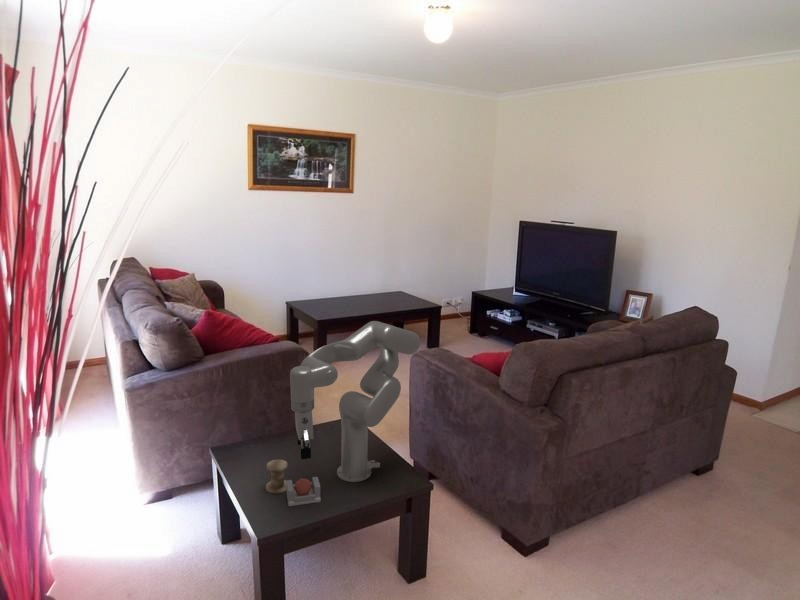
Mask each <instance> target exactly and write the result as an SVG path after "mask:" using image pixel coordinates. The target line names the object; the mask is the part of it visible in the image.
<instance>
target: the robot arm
mask: <svg viewBox="0 0 800 600" xmlns="http://www.w3.org/2000/svg"><path fill="white" fill-rule="evenodd" d="M420 346H421V339H420V336H419V335H418V334H417V333H416V332H413V331H411V330H408V329H404V328H401V327H397V326H395V325H393V324H388V323H385V322H381V321H378V320H371V321H369V322H367V323H366V324H364V325H363V326H362V327H360V328H359V329H357V330H356V331H354V333H352V334H350V335H349V336H348V337H346V338H345V339H343V340H339V341H335V342H333V343H329V344H327V345H326V344H325V345H323V346H321V347H319V348H317V349H315V350H314V351H312V352H311V353H310V354H308V355H307V356H306V357H304V359H303V360H302V362H301V363H300V365H298V366H295V367H293V368H291V369H290V372H289V380H290V381H289V383H290V385H289V387H290V405H291V406H290V408H291V409H290V410H291V411H293V412H294V421H295V430H296V435H297V436H296V437H297V445H298V446H301V447H300V459H301V460H307V459H311V458H312V450H311V449H312V448H311V440H314V422H313V410H314V409H315V388H322V387H323V388H324V387H329V386H331V385H332V384H333V385H334V383H335V382H336V381H337V379H338V377H339V373H338V369H337V368H336V367H335V366H334V365H332V364H333V363H336V362H337V363H338V362H354V361H355V362H356V361H359V360H360V359H361V358H363V357H365V355H367V354H368V353H369V352H370V351H372V350H373V349H374V348H375V347H379V348H380V349H379V354H378V357H377V358H376V359H375V361H374V363H372V365H371V366H370V367H369V369H368V370H367V371H366V373H365V374H364V375H363V376H362V378H361V379H360V382H359V387H360V389H361V391H362V392H363V393H361V392H358V391H354V390H353V391H352V390H350V391H347V392H345V393H344V394H342V396H341V397H340V399H339V403H338V411H339V415H340V422H341V423H340V424H341V449H340V450H341V462H340V464H341V465H339V467H338V468H337V470H336V475H337V476H338V478H339V479H340V480H342V481H345V482H349V483H358V482H363V481H365V480H367V479H369V478H370V477H371V475H372V469H379V468H381V463H380V461H379V462H378V461H376V460H375V459H372V460H369V459H368V446H369V445H368V442H369V441H368V440H369V439H368V438H369V437H368V435H369V428H373V427H375V426H377V425H378V424H380V423H381V422H382V420H383V419H384V418H385V417H386V415H387V414H388V413H389V411H390V410H391V409H392V407H393V406H394V405H395V403H396V402H397V400H398V398H399V397H400V393H401V390H402V386H401V382H400V380H399V379H398V378H397V377H395V376H394V374H395V373H396V372H397V370H398V368H399V365H400V364H399V363H400V360H399V353H400V354H404V355H413V354H416V352H417V351H418V350H419V349H420ZM364 393H365V394H366V395H365V394H364Z"/></svg>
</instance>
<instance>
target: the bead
mask: <svg viewBox="0 0 800 600" xmlns="http://www.w3.org/2000/svg"><path fill="white" fill-rule="evenodd" d="M310 482H311V481H310V480H309V479H307V478H303V477H302V478H299V479H298V480H296V482H295V483H294V484H295V491H296V493H297V494H299V495H306V494H308V493H309V492H310V490H311V483H310Z"/></svg>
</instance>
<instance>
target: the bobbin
mask: <svg viewBox="0 0 800 600" xmlns="http://www.w3.org/2000/svg"><path fill="white" fill-rule="evenodd" d="M287 468H288V462H287V461H286V460H285V459H278V458H277V459H272V460H270V461H268V462H267V463H266V469H267V470H268V471H270V480H269V481H268V482H267V483H266V484H265V490H266V492H267V493H270V494H274V495H278V494H282V493H286V489H287V483H286V479H285V470H286V469H287Z"/></svg>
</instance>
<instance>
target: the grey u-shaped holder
mask: <svg viewBox="0 0 800 600" xmlns="http://www.w3.org/2000/svg"><path fill="white" fill-rule="evenodd" d="M285 480H286V479H285ZM311 480H312V481H310V483H311V490H310V492H309V493H308V494H306V495H299V494H297V493H296V491H295V484H296V483H294V484H293V480H292V479H288V480H286V483H287V489H286V491H285V493H286V498H287V505H288V507H293V506H301V505H307V504H312V503H313V504H314V503H321V502H322V499H321V484H320V480H319V478H318V476H312V477H311Z"/></svg>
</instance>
